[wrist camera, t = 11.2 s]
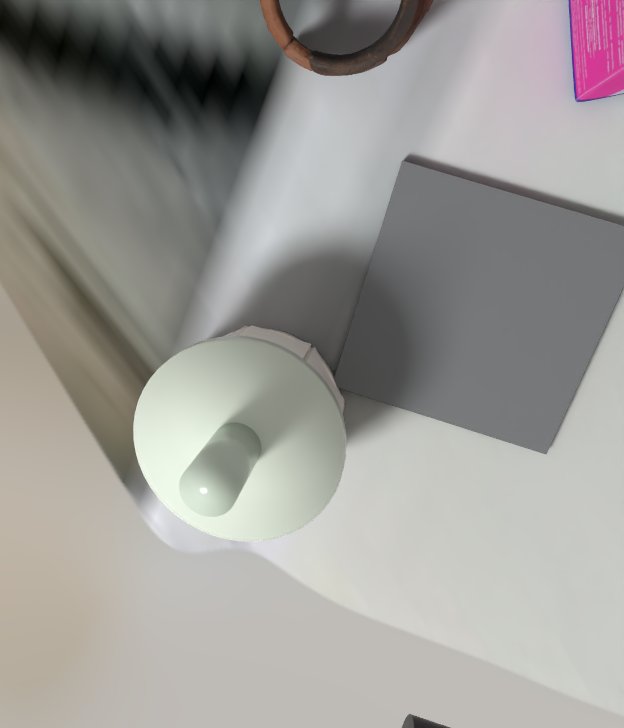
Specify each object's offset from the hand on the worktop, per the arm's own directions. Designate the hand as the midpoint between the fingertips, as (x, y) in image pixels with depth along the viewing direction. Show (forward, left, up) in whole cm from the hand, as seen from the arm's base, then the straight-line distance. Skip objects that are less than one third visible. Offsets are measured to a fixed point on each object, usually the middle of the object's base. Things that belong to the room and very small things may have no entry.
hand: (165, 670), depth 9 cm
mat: (-8, -3, -27) cm, 28 cm away
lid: (+3, +6, -22) cm, 23 cm away
